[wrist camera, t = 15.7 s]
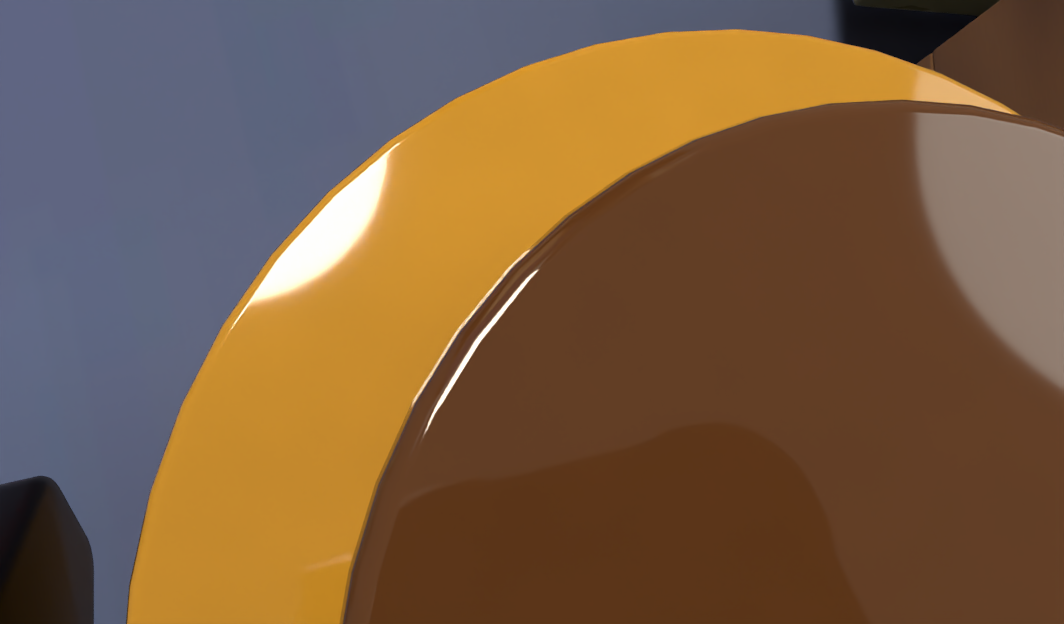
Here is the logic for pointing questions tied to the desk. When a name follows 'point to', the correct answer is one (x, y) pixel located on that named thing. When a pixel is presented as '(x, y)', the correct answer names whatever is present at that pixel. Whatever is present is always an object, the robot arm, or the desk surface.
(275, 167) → the desk surface
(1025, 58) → the drawer
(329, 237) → the bottle
